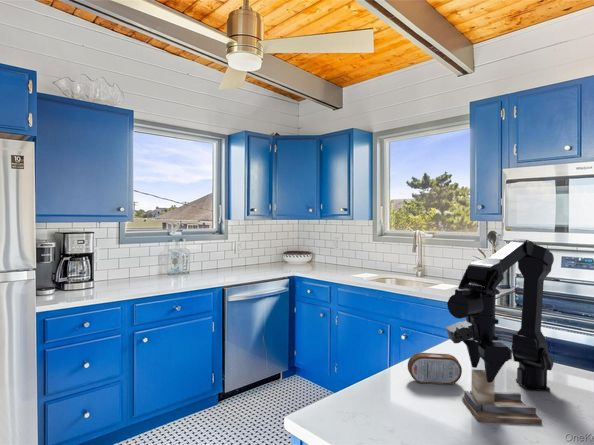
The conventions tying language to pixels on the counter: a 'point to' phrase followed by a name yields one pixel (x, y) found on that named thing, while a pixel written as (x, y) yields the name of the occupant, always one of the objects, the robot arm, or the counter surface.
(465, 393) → the track
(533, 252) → the robot arm
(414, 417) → the counter surface
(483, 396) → the block
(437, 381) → the tin
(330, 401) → the counter surface
